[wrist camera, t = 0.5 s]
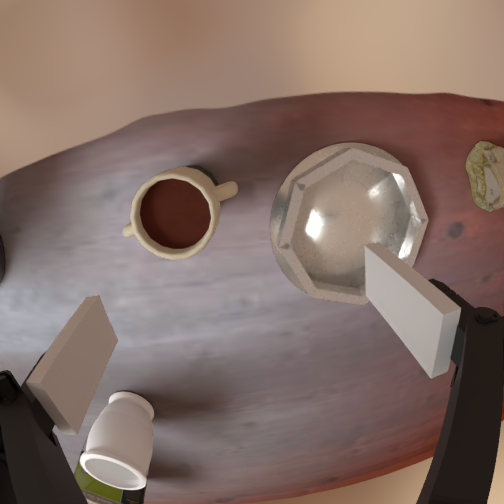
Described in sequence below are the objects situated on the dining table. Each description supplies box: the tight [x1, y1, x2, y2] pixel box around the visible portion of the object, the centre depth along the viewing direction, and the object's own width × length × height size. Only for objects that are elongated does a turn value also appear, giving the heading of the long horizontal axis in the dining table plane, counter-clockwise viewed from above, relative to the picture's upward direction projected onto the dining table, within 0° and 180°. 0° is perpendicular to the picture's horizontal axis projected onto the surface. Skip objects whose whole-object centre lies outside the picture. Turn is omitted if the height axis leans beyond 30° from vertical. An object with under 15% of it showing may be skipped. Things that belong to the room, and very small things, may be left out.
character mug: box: [123, 166, 238, 260], centre depth 30 cm, size 11×7×13 cm, turn 110°
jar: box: [80, 391, 154, 490], centre depth 40 cm, size 11×10×15 cm
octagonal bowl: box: [270, 143, 428, 305], centre depth 37 cm, size 21×21×3 cm
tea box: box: [74, 439, 149, 504], centre depth 47 cm, size 15×10×15 cm
